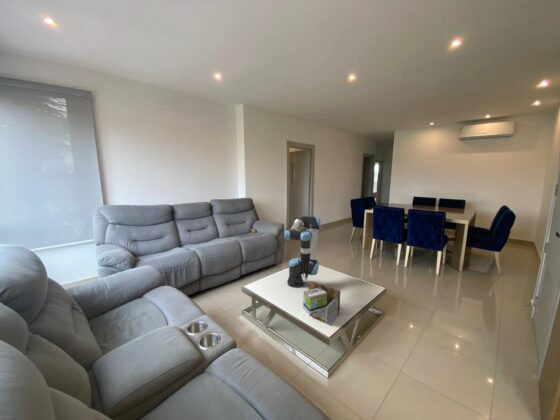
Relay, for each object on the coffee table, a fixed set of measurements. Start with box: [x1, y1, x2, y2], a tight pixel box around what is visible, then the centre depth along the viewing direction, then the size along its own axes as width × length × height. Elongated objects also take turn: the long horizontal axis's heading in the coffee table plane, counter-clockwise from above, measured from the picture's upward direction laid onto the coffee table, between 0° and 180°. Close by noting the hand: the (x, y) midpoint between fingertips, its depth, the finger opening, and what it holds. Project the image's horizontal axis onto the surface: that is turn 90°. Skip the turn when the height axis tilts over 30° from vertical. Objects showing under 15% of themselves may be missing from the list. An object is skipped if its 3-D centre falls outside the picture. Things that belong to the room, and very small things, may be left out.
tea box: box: [302, 287, 327, 316], centre depth 171 cm, size 15×10×15 cm, turn 115°
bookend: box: [324, 296, 342, 326], centre depth 162 cm, size 4×18×12 cm, turn 141°
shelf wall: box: [308, 280, 341, 324], centre depth 170 cm, size 26×19×16 cm
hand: (305, 280), depth 179 cm, fingers closed
